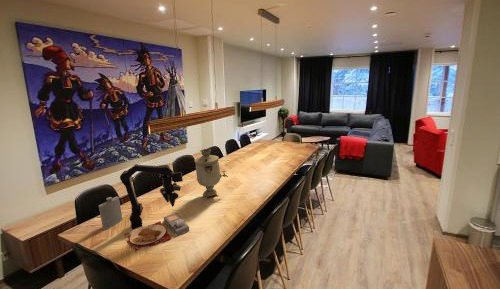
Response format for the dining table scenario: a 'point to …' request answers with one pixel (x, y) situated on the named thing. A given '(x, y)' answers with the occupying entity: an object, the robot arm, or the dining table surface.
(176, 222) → the aluminium block
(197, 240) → the dining table surface
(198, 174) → the samovar
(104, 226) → the hip flask
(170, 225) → the parts holder
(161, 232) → the plate with food
